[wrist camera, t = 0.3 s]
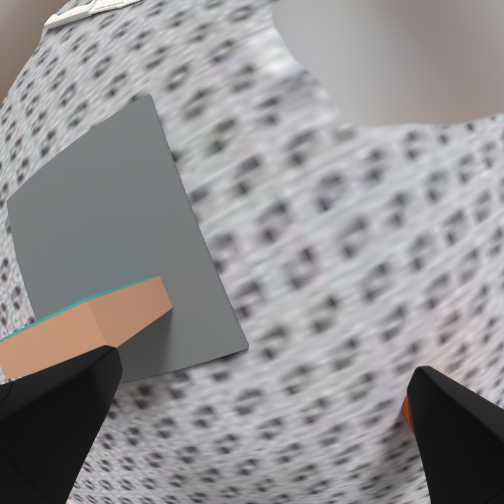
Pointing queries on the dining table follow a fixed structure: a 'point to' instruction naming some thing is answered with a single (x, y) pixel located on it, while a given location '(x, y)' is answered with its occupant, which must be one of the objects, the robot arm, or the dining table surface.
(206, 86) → the dining table surface
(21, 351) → the tile
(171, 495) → the dining table surface
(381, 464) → the dining table surface
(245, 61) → the dining table surface
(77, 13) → the knife
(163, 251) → the mat
